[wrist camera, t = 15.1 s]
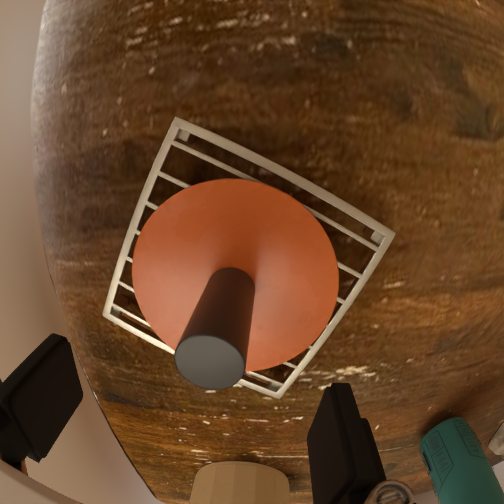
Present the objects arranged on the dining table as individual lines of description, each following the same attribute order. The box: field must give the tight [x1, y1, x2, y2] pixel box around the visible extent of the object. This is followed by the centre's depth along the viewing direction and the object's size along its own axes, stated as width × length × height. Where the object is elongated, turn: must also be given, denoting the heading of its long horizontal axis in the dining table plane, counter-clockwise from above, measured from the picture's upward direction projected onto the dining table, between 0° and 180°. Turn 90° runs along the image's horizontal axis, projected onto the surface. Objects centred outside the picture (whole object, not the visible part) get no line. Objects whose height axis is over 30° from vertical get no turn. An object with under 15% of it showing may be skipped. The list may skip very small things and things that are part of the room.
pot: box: [189, 461, 290, 504], centre depth 26 cm, size 12×12×6 cm
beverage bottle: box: [419, 417, 504, 504], centre depth 16 cm, size 6×7×20 cm
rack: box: [102, 117, 396, 399], centre depth 20 cm, size 15×15×2 cm
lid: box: [132, 178, 339, 390], centre depth 15 cm, size 13×13×8 cm
